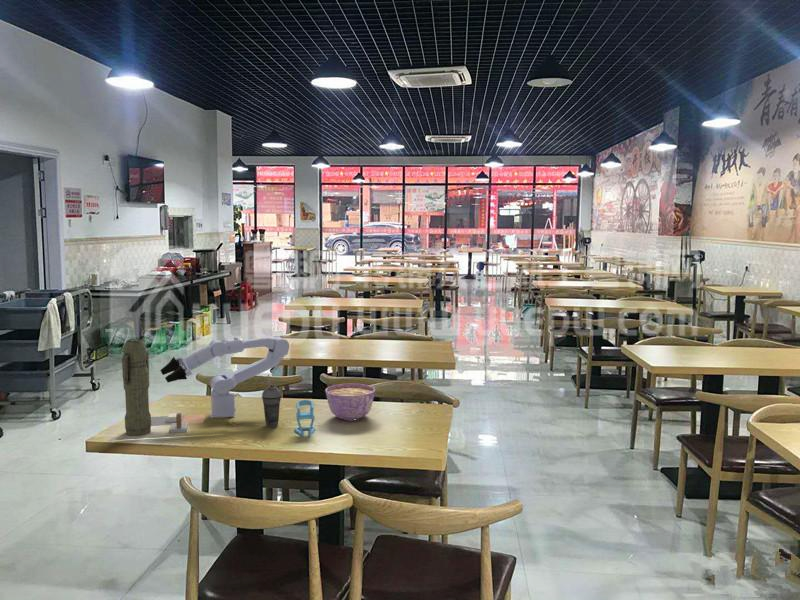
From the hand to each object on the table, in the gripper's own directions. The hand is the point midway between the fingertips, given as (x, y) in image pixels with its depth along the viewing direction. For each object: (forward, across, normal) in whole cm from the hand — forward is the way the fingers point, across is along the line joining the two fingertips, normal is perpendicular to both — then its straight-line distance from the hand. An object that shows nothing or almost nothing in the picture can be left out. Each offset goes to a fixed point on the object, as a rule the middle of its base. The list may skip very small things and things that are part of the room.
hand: (163, 376), depth 252 cm
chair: (-33, +43, +26) cm, 60 cm away
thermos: (+17, +12, +10) cm, 24 cm away
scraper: (+5, +16, +15) cm, 23 cm away
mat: (+5, +4, +17) cm, 18 cm away
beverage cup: (-25, +29, +26) cm, 46 cm away
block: (+4, +4, +17) cm, 18 cm away
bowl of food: (-54, +35, +38) cm, 74 cm away
